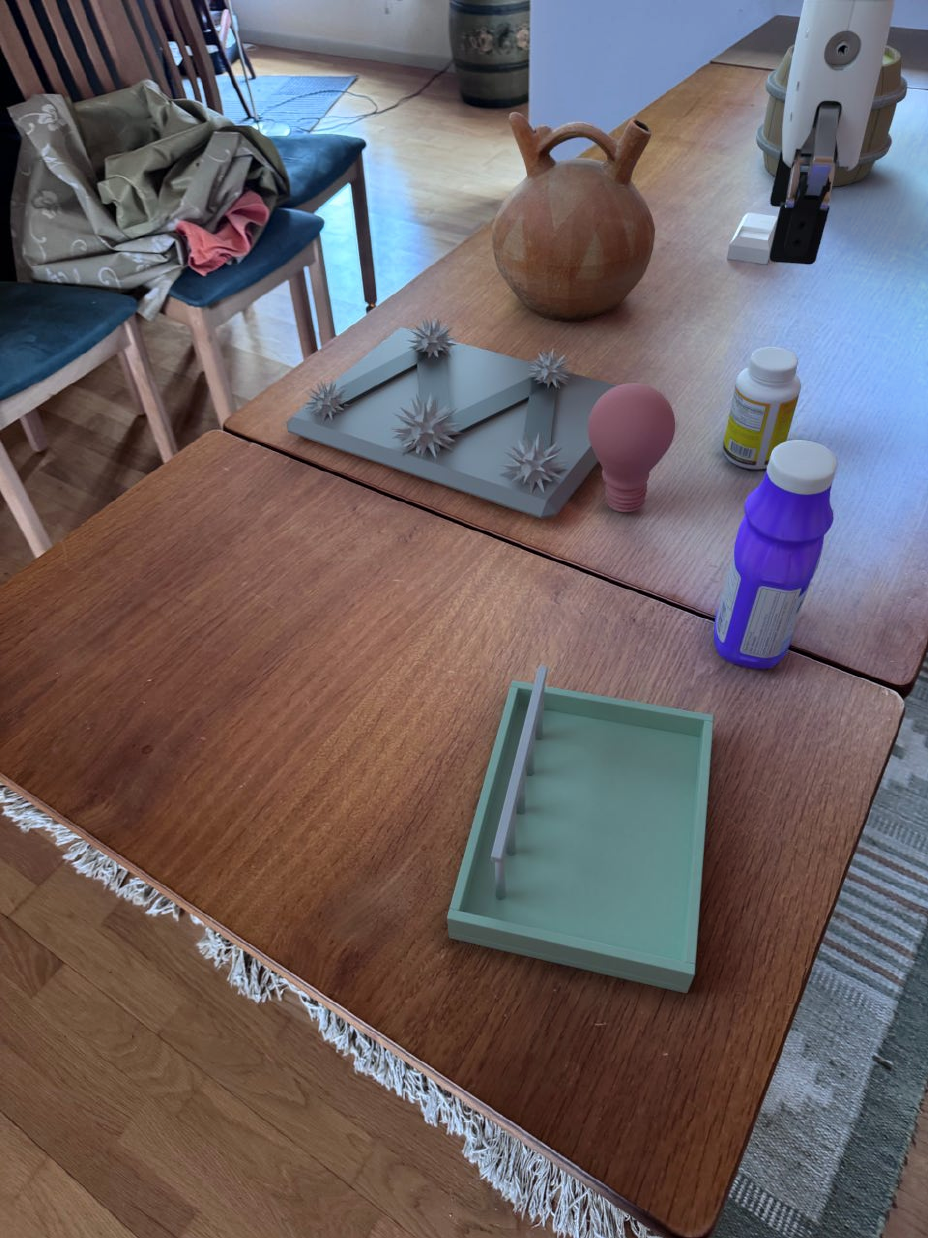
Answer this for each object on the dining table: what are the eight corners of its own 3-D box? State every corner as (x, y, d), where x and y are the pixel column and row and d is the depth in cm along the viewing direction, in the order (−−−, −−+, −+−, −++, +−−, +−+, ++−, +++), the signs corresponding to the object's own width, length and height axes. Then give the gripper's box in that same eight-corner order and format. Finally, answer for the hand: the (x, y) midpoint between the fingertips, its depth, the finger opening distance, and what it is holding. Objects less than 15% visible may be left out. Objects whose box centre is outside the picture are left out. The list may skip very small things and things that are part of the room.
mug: (726, 197, 124) (747, 76, 113) (765, 138, 138) (788, 26, 127) (865, 217, 118) (902, 92, 107) (891, 153, 132) (925, 37, 121)
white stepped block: (779, 234, 115) (783, 214, 113) (766, 264, 109) (771, 243, 107) (741, 229, 116) (745, 209, 114) (726, 258, 111) (730, 237, 109)
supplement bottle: (776, 438, 85) (802, 341, 77) (785, 473, 81) (814, 375, 74) (718, 436, 85) (738, 340, 78) (724, 471, 82) (746, 374, 74)
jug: (473, 327, 101) (468, 141, 87) (514, 258, 113) (515, 83, 98) (632, 346, 97) (654, 154, 83) (657, 273, 109) (680, 93, 94)
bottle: (782, 684, 64) (850, 500, 52) (704, 667, 66) (752, 483, 53) (791, 615, 69) (855, 431, 56) (717, 600, 70) (764, 416, 58)
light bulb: (573, 523, 77) (581, 407, 69) (592, 475, 82) (601, 360, 73) (653, 538, 76) (672, 421, 67) (668, 488, 80) (687, 372, 71)
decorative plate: (646, 409, 89) (654, 345, 84) (550, 533, 77) (553, 468, 71) (400, 340, 100) (394, 280, 95) (282, 439, 88) (268, 376, 83)
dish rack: (707, 738, 61) (726, 671, 56) (687, 994, 50) (709, 940, 44) (511, 704, 64) (512, 636, 59) (448, 938, 52) (442, 881, 47)
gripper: (938, -9, 48) (848, 290, 60) (907, -74, 59) (837, 190, 72) (796, -11, 49) (736, 281, 62) (792, -74, 61) (742, 184, 73)
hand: (790, 232), depth 67 cm, fingers open, 9 cm apart
